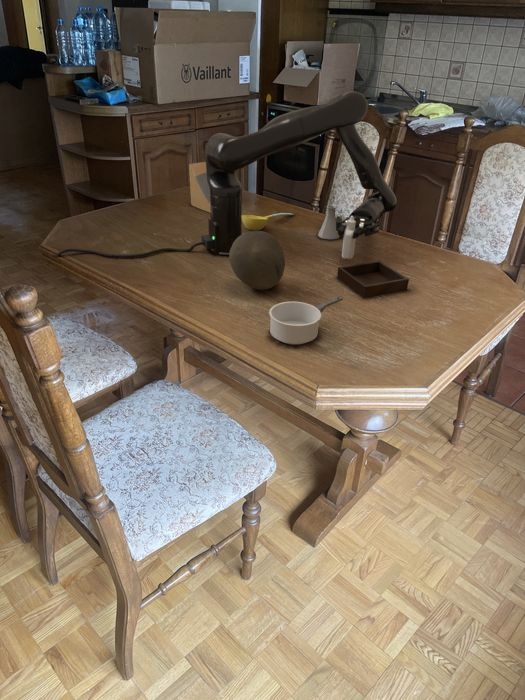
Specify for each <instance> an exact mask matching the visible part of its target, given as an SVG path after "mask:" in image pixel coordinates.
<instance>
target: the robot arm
mask: <svg viewBox="0 0 525 700" xmlns="http://www.w3.org/2000/svg"><path fill="white" fill-rule="evenodd" d="M368 106H369V104H368V101H367V98H366V97H365V96H364V94H362V93H360V92H358V91H355V90H354V91H353V90H349V91H345V92H342V93H338V94H336V95H333V96H332V97H331V98H330V100H329V101H328V102H327V103H324V104H319V105H314V106H308V107H303V108H300V109H299V108H298V109H296V110H291V111H289V112H286V113H283V114H280V115H278V116H276V117H274V118H272V119H271V120H270V121H269V122H268V123H266V124H265V125H264V126H263V127H262V128H260V129H258V130H257V131H254V132H251V133H248V134H245V135H240V136H234V135H231V134H228V133H224V132H217V133H215V134H213V135H212V136H211V137H210V138H209V139H208V141H207V142H206V146H205V162H206V172H207V181H208V185H209V188H210V212H209V214H210V217H209V218H208V219H207V221H208V223H207V224H208V234H203V235H201V238H200V239H201V241H198V242H196V243H194V244H192V245H191V246H190V247H189V248H185V249H184V248H174V247H162V248H158V249H157V248H156V249H153V250H151V251H147V252H142V253H134V254H117V253H107V252H103V251H99V250H94V249H84V248H65V249H62V250H60V251H58V252H57V253H56V254H55V255H54V256H55V258H57V257H60V256H61V255H63V254H64V253H69V252H77V253H89V254H90V253H91V254H97V255H99V256H104V257H108V258H123V259H124V258H125V259H126V258H137V257H139V258H140V257H145V256H146V257H147V256H149V255H153V254H156V253H160V252H180V253H181V252H182V253H186V252H187V253H188V252H191V251H192V250H194V248H196V247H197V246H201V245H202V247H204V248H205V249H206V250H210V251H211V252H212V253H213V254H214V256H229V253H230V249H231V247H232V245H233V243H234V241H235V240H236V239H237V238H238V237H239V236H240V235H242V234H243V233H242V232H243V230H242V227H243V221H242V215H243V185H242V183H241V181H240V180H239V178H238V175H237V171H240V170H242V169H244V168H246V167H247V166H249V165H252V164H253V163H255V162H258V161H259V160H261V159H263V158H265V157H268V156H271V155H275V154H277V153H280V152H283V151H285V150H289V149H292V148H295V147H297V146H300V145H303V144H305V143H307V142H309V141H311V140H313V139H316V138H317V137H318V138H319V136H321V135H324V134H326V133H328V132H330V131H333V130H335V132H336V133H337V136H338V137H339V139H340V140H341V142H342V145H343V146H344V148H345V150H346V152H347V153H348V156H349V157H350V160H351V162H352V164H353V167H354V169H355V172H356V174H357V177H358V179H359V182H360V185H361V187H362V189H364V190H374V191H377V192H373V193H371V194H368V195H365V197H364V198H363V203H361V204H359V205H358V206H357V207H356V208H355V209H354V210H353V211H351V213H350V214H349V216H348V217H345V218H342V217H341V216H335V217H336V231H338V234H339V236H340V237H343V236H344V231H345V229H346V228H347V221H348V220H350V217H351V216H353V219H354V220H355V221H356V224H355V230H354V232H353V239H357V238H358V239H359V238H360V237H362V236H363V235H364V237H369V236H372V235H375V234H377V233H379V232H380V227H381V224H380V223H379V222H378V221H379V220H380V219H381V217H382V216H383V215H384V213H389V212H391V211H394V209H395V208H396V207H397V197H396V195H395V193H394V191H393V189H392V188H391V187H390V185H389V184H388V182H386V179H385V178H384V176H383V174H382V171H381V169H380V166H379V163H378V161H377V158H376V156H375V154H374V153H373V152H372V150H371V149H370V147H368V145H367V144H366V143H365V141H364V140H363V139H362V136H361V135H360V134H359V132H358V130H357V127H356V124H358V123H360V122H361V121H363V119H364V118H365V116H366V114H367V112H368Z"/></svg>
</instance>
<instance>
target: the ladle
mask: <svg viewBox="0 0 525 700" xmlns="http://www.w3.org/2000/svg"><path fill="white" fill-rule="evenodd" d="M278 216H294V213H292V212H291V213H289V212H279V213H274V214H270V215H266V216H259V215H253V214H242V225H243V226H244V227H245V228H246V229H248V230H249V231H262V229H264V228H265V227H266V226H267V224H268V220H269V219H270V218H273V217H278Z"/></svg>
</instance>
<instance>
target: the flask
mask: <svg viewBox="0 0 525 700" xmlns="http://www.w3.org/2000/svg"><path fill="white" fill-rule="evenodd" d="M336 210H337V205H333V204H328V205H326V214H325V218H324V220H323V223H322V226H321V228H320V230H319V231H318V234H317V236H318V237H319V238H320V239H325V240H338V239H340V237H341V236H339V234H338V231H336V217H337V216H336Z"/></svg>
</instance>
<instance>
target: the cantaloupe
mask: <svg viewBox="0 0 525 700" xmlns="http://www.w3.org/2000/svg"><path fill="white" fill-rule="evenodd" d="M228 256H229V264H230V267H231V270H232V271H233V273H234V275H235V277H236V278H238V280H240V281H241V282H242V283H243V284H244V285H246V286H247V287H250V288H252V289H255V290H259V291H264V290H269V289H272V288H273V287H275V286H276V285H278V284H279V282H280V281H281V280H282V277H283V275H284V271H285V268H286V257H285V252H284V249H283V247H282V244H281V243H280V241H279V240H278V239H277V238H276V237H275V236H273V235H272V234H270V233H268V232H267V231H263V230H258V231H252V230H249V231H246V232H244V233H242V235H240V236H239V237H238V238H237V239H236V240H235V241H234V243H233V245H232V247H231V249H230V253H229V255H228Z"/></svg>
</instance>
